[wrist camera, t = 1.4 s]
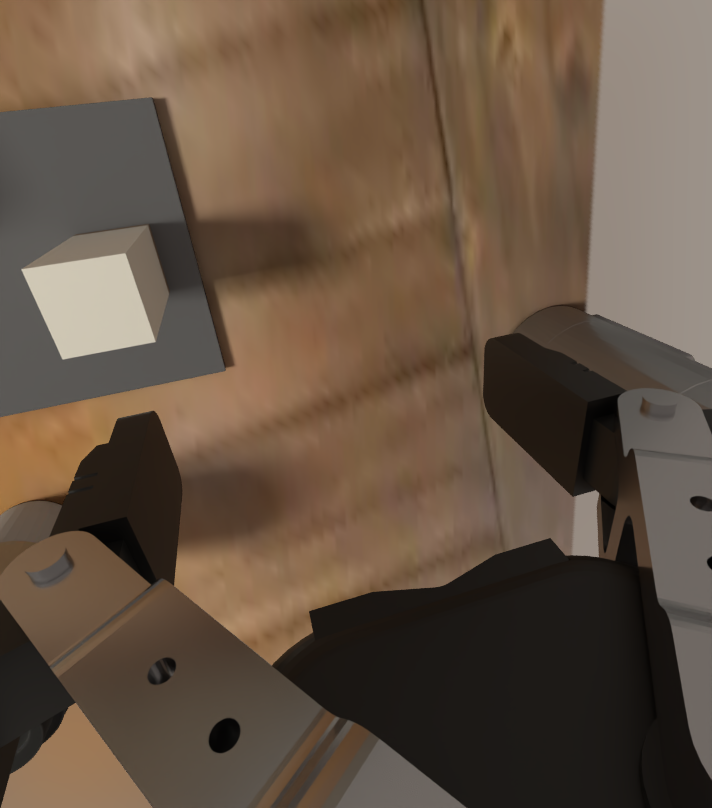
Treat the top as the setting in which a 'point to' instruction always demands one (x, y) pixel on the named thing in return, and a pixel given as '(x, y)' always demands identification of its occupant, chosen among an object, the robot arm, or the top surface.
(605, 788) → the robot arm
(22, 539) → the coffee cup
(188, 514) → the top surface
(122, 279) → the cream block
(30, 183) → the mat
